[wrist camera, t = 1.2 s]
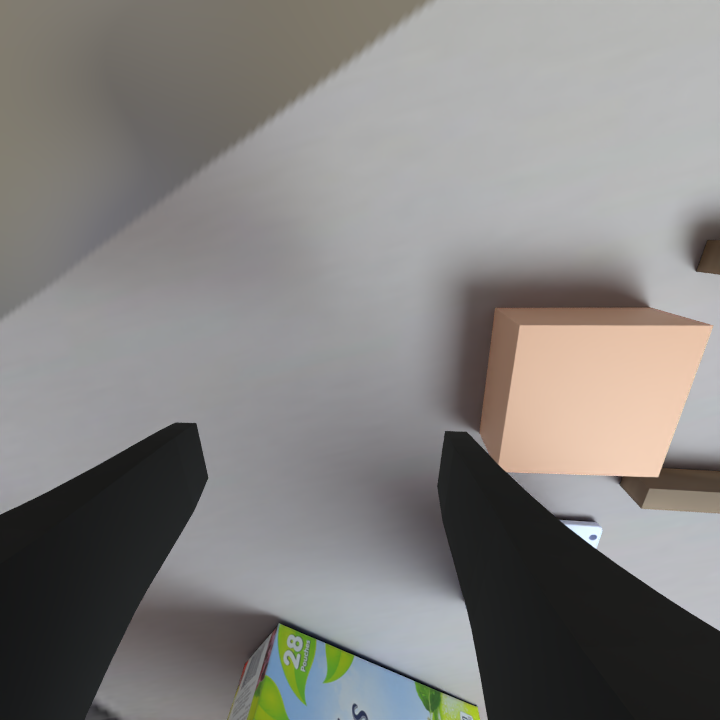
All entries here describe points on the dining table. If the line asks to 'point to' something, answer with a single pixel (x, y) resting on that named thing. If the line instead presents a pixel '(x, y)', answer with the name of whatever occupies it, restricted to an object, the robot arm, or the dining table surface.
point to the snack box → (332, 686)
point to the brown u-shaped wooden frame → (681, 484)
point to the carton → (587, 388)
